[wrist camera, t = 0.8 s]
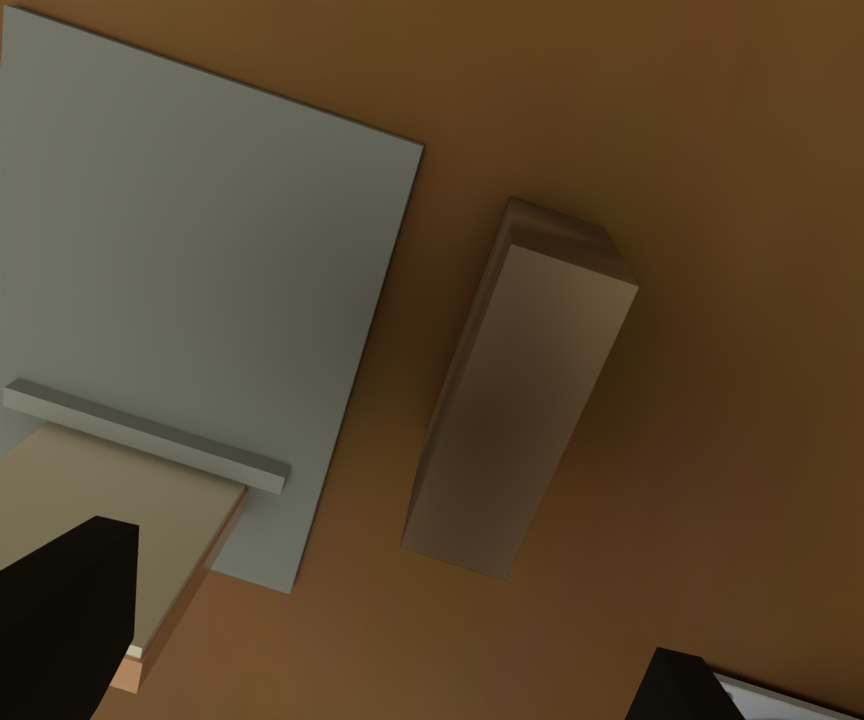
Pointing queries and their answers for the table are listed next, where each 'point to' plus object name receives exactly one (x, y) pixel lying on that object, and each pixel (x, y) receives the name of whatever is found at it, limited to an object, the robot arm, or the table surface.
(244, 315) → the mat
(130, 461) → the tile
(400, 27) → the table surface
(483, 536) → the bar
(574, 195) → the table surface
